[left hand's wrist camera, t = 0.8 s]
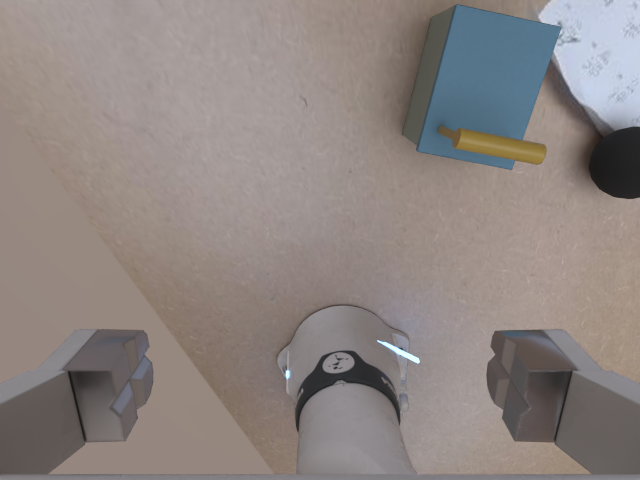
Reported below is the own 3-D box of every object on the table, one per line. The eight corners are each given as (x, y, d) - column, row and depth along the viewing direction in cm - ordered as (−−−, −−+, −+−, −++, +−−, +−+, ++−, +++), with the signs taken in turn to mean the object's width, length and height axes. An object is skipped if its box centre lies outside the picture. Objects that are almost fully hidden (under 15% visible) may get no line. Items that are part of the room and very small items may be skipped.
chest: (480, 150, 52) (510, 163, 44) (401, 134, 52) (416, 145, 44) (517, 35, 48) (557, 27, 40) (431, 17, 47) (454, 5, 39)
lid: (508, 168, 44) (548, 188, 37) (415, 150, 44) (436, 166, 36) (557, 27, 40) (614, 16, 32) (454, 5, 39) (487, -12, 31)
